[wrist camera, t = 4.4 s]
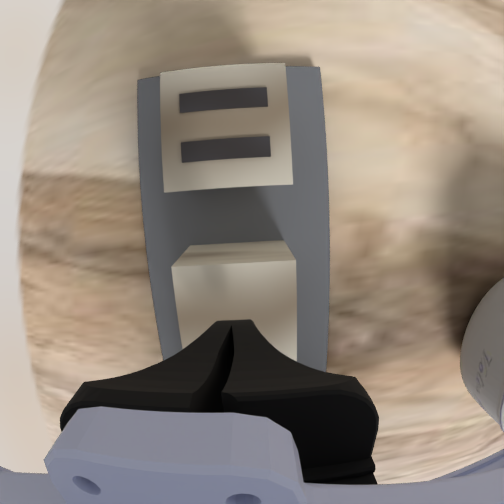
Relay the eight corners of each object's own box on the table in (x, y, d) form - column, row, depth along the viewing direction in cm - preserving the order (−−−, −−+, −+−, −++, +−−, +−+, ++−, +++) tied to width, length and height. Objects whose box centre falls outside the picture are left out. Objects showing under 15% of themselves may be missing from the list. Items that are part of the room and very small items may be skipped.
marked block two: (281, 184, 17) (293, 184, 12) (185, 189, 17) (163, 192, 12) (275, 91, 16) (285, 62, 11) (181, 98, 16) (159, 71, 11)
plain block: (286, 326, 18) (296, 367, 14) (199, 330, 18) (186, 372, 14) (283, 240, 17) (295, 260, 13) (190, 245, 17) (171, 266, 13)
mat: (318, 430, 21) (320, 437, 20) (184, 436, 21) (182, 443, 20) (316, 71, 16) (319, 67, 15) (141, 83, 16) (137, 79, 15)
